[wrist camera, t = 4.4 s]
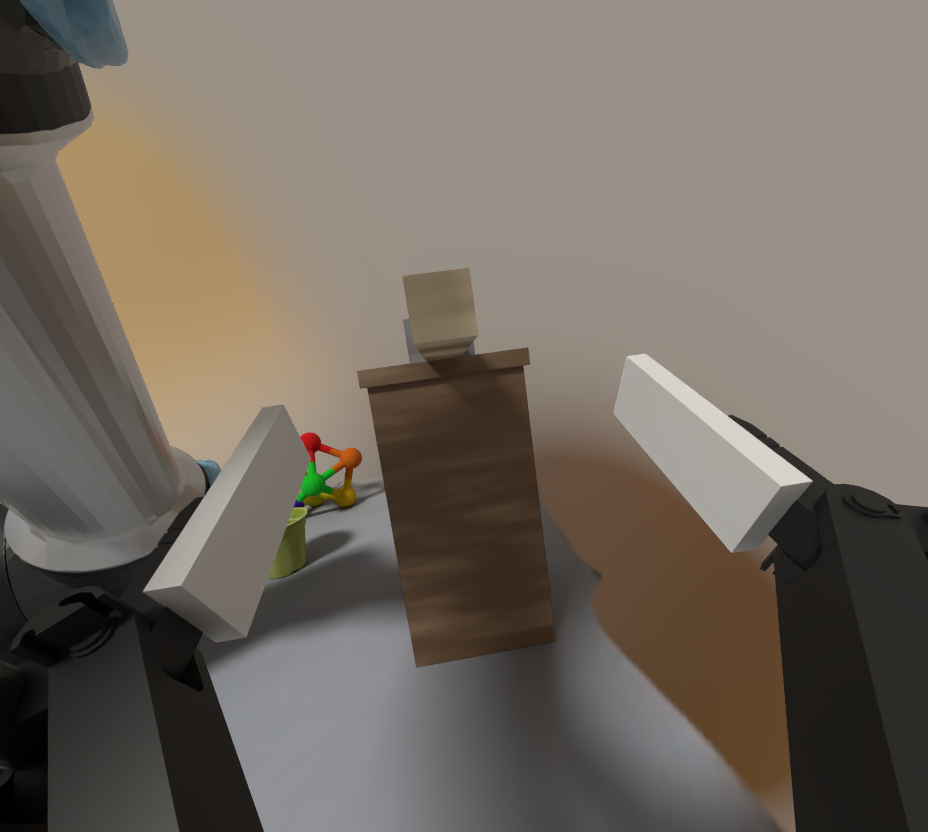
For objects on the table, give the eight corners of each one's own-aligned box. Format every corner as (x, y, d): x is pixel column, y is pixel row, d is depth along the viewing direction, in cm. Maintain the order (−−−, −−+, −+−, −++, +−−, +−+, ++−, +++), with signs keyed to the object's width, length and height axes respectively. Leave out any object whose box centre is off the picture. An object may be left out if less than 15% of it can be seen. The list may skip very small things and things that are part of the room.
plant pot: (308, 578, 50) (296, 525, 49) (242, 592, 49) (229, 538, 48) (323, 548, 60) (313, 503, 59) (268, 560, 58) (257, 514, 57)
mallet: (416, 370, 42) (410, 331, 42) (469, 362, 43) (464, 324, 42) (369, 350, 15) (349, 234, 14) (520, 329, 15) (507, 215, 14)
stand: (420, 578, 46) (386, 374, 43) (524, 560, 47) (498, 358, 44) (410, 672, 31) (356, 371, 28) (562, 644, 32) (528, 347, 29)
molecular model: (377, 497, 82) (357, 421, 78) (339, 531, 68) (312, 440, 64) (310, 502, 88) (288, 431, 85) (263, 534, 74) (234, 451, 70)
